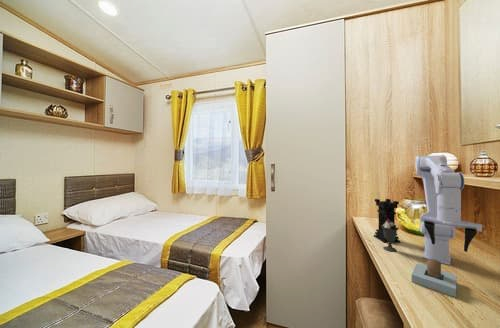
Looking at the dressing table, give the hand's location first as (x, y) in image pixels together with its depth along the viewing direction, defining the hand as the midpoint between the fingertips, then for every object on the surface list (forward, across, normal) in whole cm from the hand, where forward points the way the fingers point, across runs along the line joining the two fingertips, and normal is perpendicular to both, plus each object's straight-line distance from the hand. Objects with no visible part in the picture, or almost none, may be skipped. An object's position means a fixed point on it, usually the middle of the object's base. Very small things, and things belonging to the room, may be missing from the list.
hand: (448, 246), depth 66 cm
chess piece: (+10, -23, +22) cm, 34 cm away
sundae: (+10, -19, +10) cm, 24 cm away
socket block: (+10, -3, -8) cm, 13 cm away
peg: (+10, -3, -7) cm, 13 cm away
